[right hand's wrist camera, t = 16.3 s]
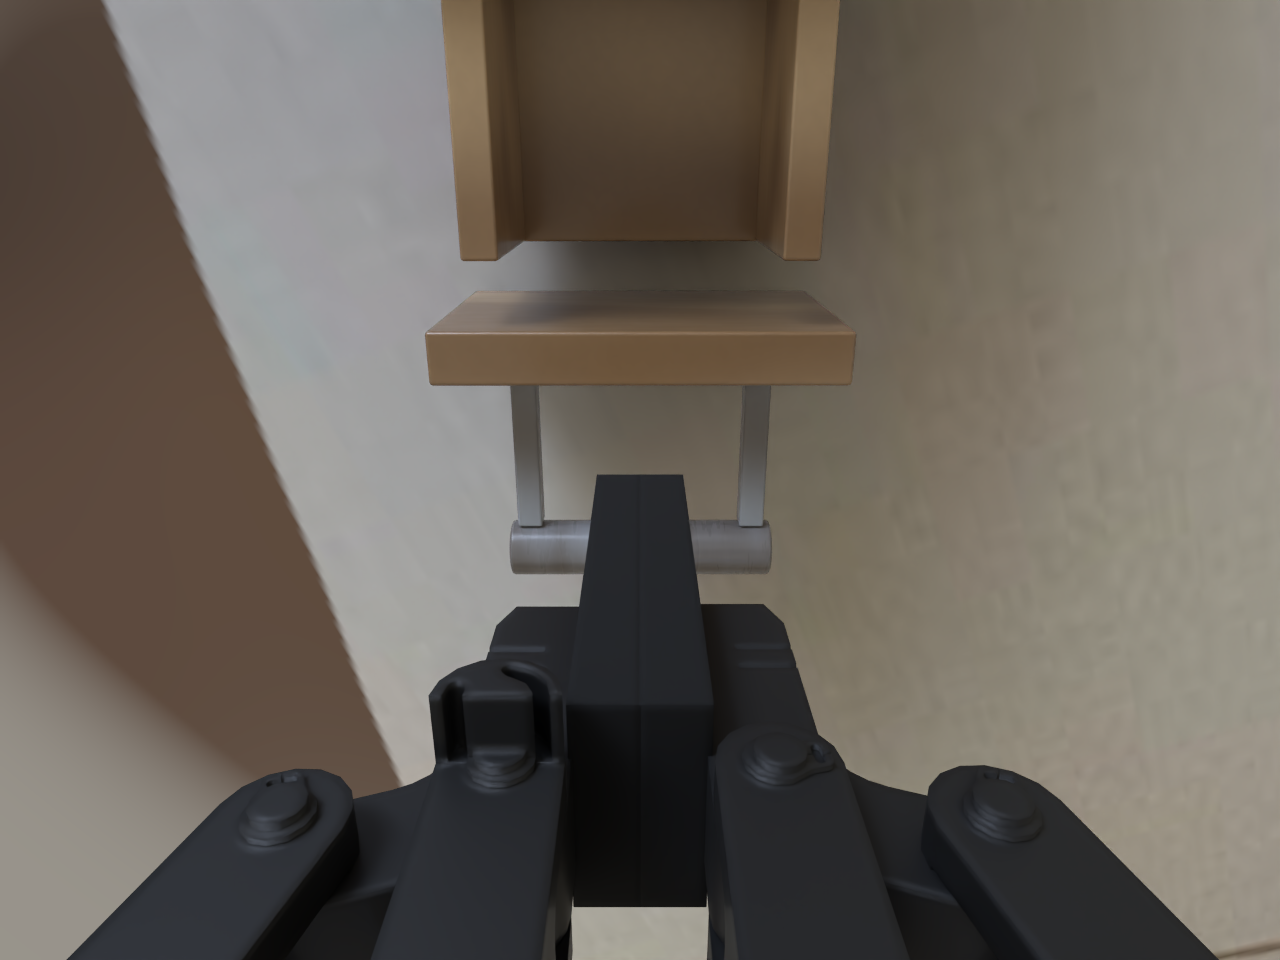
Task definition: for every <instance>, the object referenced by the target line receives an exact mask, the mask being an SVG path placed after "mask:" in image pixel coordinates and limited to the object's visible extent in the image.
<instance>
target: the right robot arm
mask: <svg viewBox="0 0 1280 960" xmlns="http://www.w3.org/2000/svg"><path fill="white" fill-rule="evenodd" d="M429 704H430V713H431V722H432V731H433V740H434V750H435V759H436V765H435V768H434V771H433V773H432V774H431V775H429V776H427V777H425V778H423V779H421V780H419V781H417V782H415V783H413V784H410V785H407V786H403V787H400V788H397V789H394V790H390V791H386V792H382V793H378V794H373V795H369V796H365V797H360V798H356V799H353V796H352V790H351V789H350V788H349V787H348V785H347V784H346V783H345V782H344V781H343V779H342V778H341V777H339V776H337V775H334V774H331V773H329V772H326V771H323V770H319V769H293V770H288V771H284V772H279V773H275V774H270V775H267V776H265V777H263V778H261V779H258V780H256V781H254V782H252V783H250V784H248V785H245V786H243V787H241V788H240V789H239V790H238V791H236V792H235V793H234V794H232V795H231V796H230V797H229V798H227V799H226V800H225V801H223V802H222V803H221V804H220V805H219V806H218V807H217V808H216V809H215V810H214V811H213V812H212V813H211V814H210V815H209V816H208V817H207V818H206V819H205V820H204V821H203V822H202V823H201V824H200V825H199V826H198V827H197V828H196V829H195V830H194V831H193V832H192V833H191V834H190V835H189V836H188V837H187V838H186V839H185V840H184V841H183V842H182V843H181V844H180V845H179V846H178V847H177V848H176V849H175V850H174V851H173V852H172V853H171V854H170V855H169V856H168V857H167V859H165V860H164V861H163V863H161V865H160V866H159V867H158V868H157V869H156V870H155V871H154V872H153V873H152V874H151V875H150V876H149V877H148V878H147V879H146V880H145V881H144V882H143V883H142V884H141V885H140V886H139V887H138V888H137V889H136V890H135V891H134V892H133V893H132V894H131V895H130V896H129V897H128V898H127V899H126V900H125V901H124V902H123V903H122V904H121V905H120V906H119V907H118V908H117V909H116V910H115V911H114V912H113V913H112V914H111V915H110V916H109V917H108V918H107V919H106V920H105V921H104V922H103V923H102V924H101V925H100V926H99V927H98V928H97V929H96V931H95V932H94V933H93V934H92V935H91V936H90V937H89V938H88V939H87V940H86V941H85V942H84V943H83V944H82V945H81V946H80V947H79V948H78V949H77V950H76V951H75V952H74V953H73V954H72V955H71V956H70V957H69V958H68V959H67V960H572V951H573V950H572V925H571V912H572V901H573V904H574V907H706V904H707V897H708V908H709V925H708V950H707V960H1219V959H1218V958H1217V957H1216V956H1215V955H1214V954H1213V953H1212V952H1211V951H1210V950H1209V949H1208V948H1207V947H1206V946H1205V945H1204V944H1203V943H1202V942H1201V941H1200V940H1199V939H1198V938H1197V937H1196V936H1195V935H1194V934H1193V933H1192V932H1191V931H1190V930H1189V929H1188V928H1187V927H1186V926H1185V925H1184V924H1183V923H1182V922H1181V921H1180V920H1179V919H1178V918H1177V917H1176V916H1175V915H1174V914H1173V913H1172V912H1171V911H1170V910H1169V909H1168V908H1167V907H1166V906H1165V905H1164V904H1163V903H1162V902H1161V901H1160V900H1159V899H1158V898H1157V897H1156V896H1155V895H1154V894H1153V893H1152V892H1151V891H1150V890H1149V889H1148V888H1147V887H1146V886H1145V885H1144V884H1143V883H1142V882H1141V881H1140V880H1139V879H1138V878H1137V877H1136V876H1135V875H1134V874H1133V873H1132V872H1131V871H1130V870H1129V869H1128V868H1127V867H1126V866H1125V865H1124V864H1123V863H1122V862H1121V861H1120V860H1119V859H1118V858H1117V857H1116V856H1115V855H1114V854H1113V853H1112V852H1111V851H1110V850H1109V849H1108V848H1107V846H1106V845H1105V844H1104V843H1103V842H1102V841H1101V840H1100V839H1099V838H1098V837H1097V836H1096V835H1095V834H1094V833H1093V832H1092V831H1091V830H1090V829H1089V828H1088V827H1087V826H1086V825H1085V824H1084V823H1083V822H1082V821H1081V820H1080V819H1079V818H1078V817H1077V816H1076V815H1075V814H1074V813H1073V812H1072V811H1071V810H1070V809H1069V808H1068V807H1067V806H1066V805H1065V804H1064V803H1063V802H1062V801H1061V800H1060V799H1058V798H1057V797H1056V796H1054V795H1053V794H1052V793H1050V792H1049V791H1048V790H1047V789H1045V788H1044V787H1043V786H1041V785H1040V784H1039V783H1037V782H1034V781H1032V780H1030V779H1028V778H1026V777H1023V776H1021V775H1019V774H1017V773H1015V772H1013V771H1008V770H1004V769H999V768H995V767H990V766H986V765H978V766H958V767H956V768H953V769H950V770H948V771H945V772H943V773H940V774H939V775H938V777H937V778H936V779H935V780H934V781H933V783H932V784H931V785H930V786H929V790H928V796H926V795H922V794H917V793H913V792H909V791H904V790H900V789H896V788H891V787H887V786H884V785H881V784H878V783H875V782H872V781H868V780H866V779H864V778H862V777H860V776H858V775H856V774H854V773H852V772H850V771H849V770H847V769H846V767H845V764H844V761H843V760H842V758H841V757H840V755H839V754H838V752H837V750H836V749H835V747H834V746H833V745H832V744H830V743H829V742H828V741H826V740H825V739H824V738H822V737H821V736H820V735H818V732H817V729H816V726H815V723H814V720H813V716H812V713H811V710H810V707H809V703H808V700H807V697H806V694H805V690H804V687H803V684H802V681H801V678H800V674H799V671H798V668H796V661H795V658H794V655H793V652H792V649H791V648H790V642H789V639H788V636H787V632H786V629H785V626H784V623H783V622H782V621H781V620H780V619H779V618H778V617H777V616H775V615H774V614H773V613H772V612H771V611H770V610H769V609H768V608H767V607H766V606H765V605H764V604H700V597H699V590H698V582H697V575H696V568H695V560H694V553H693V546H692V538H691V531H690V523H689V516H688V509H687V501H686V494H685V487H684V479H683V475H597V479H596V487H595V494H594V501H593V509H592V516H591V523H590V531H589V538H588V546H587V553H586V560H585V568H584V575H583V582H582V590H581V597H580V604H579V607H516V608H515V609H514V610H513V611H512V612H511V613H510V614H509V615H507V616H506V617H505V618H504V619H503V620H502V621H501V622H500V623H499V624H498V625H497V626H496V629H495V632H494V636H493V639H492V642H491V645H490V652H488V655H487V658H486V660H484V661H479V662H476V663H473V664H470V665H467V666H464V667H461V668H458V669H456V670H455V671H453V672H452V673H450V674H449V675H447V676H446V677H444V678H443V679H441V680H440V681H439V682H438V683H437V685H436V686H435V687H434V689H433V690H432V692H431V693H430V694H429Z"/></svg>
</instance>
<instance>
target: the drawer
mask: <svg viewBox="0 0 1280 960" xmlns="http://www.w3.org/2000/svg"><path fill="white" fill-rule="evenodd" d="M441 8H442V21H443V34H444V47H445V60H446V73H447V87H448V100H449V113H450V126H451V139H452V152H453V165H454V178H455V191H456V204H457V218H458V231H459V244H460V257H461V260H463V261H497V260H499V259H500V258H501V257H503V256H504V255H505V254H507V253H508V252H510V251H511V250H512V249H514V248H515V247H517V246H518V245H519V244H521V243H522V242H524V241H758V242H759V243H761V244H762V245H764V246H765V247H766V248H768V249H769V250H771V251H772V252H774V253H775V254H776V255H778V256H779V257H781V258H782V259H783V260H785V261H818V260H820V258H821V248H822V234H823V221H824V208H825V195H826V181H827V168H828V155H829V142H830V129H831V115H832V102H833V89H834V76H835V63H836V49H837V36H838V23H839V10H840V0H441ZM425 340H426V351H427V361H428V372H429V382H430V384H431V385H433V386H510V387H511V404H512V421H513V438H514V455H515V472H516V490H517V507H518V520H516V521H514V522H513V524H512V528H511V535H510V563H511V568H512V571H513V573H514V574H584V568H585V560H586V553H587V546H588V538H589V531H590V523H591V520H544V517H545V514H544V492H543V470H542V448H541V427H540V405H539V386H640V385H743V391H742V413H741V435H740V457H739V479H738V501H737V519H738V520H689V523H690V531H691V538H692V546H693V553H694V560H695V568H696V574H767V573H768V572H769V570H770V566H771V557H772V541H771V530H770V526H769V523H768V521H766V520H763V515H764V498H765V481H766V464H767V446H768V429H769V412H770V394H771V385H850V384H851V383H852V377H853V366H854V355H855V345H856V332H855V331H853V330H852V329H851V328H850V327H848V326H847V325H846V324H845V323H844V322H842V321H841V320H840V319H839V318H837V317H836V316H835V315H834V314H832V313H831V312H830V311H829V310H827V309H826V308H825V307H824V306H823V305H821V304H820V303H819V302H818V301H816V300H815V299H814V298H813V297H811V296H810V295H809V294H808V293H806V292H805V291H477V292H475V293H474V294H472V295H471V296H470V297H469V298H468V299H466V300H465V301H464V302H463V303H461V304H460V305H459V306H458V307H457V308H455V309H454V310H453V311H452V312H450V313H449V314H448V315H447V316H445V317H444V318H443V319H442V320H441V321H439V322H438V323H437V324H436V325H434V326H433V327H432V328H431V329H430V330H428V331H427V332H426V334H425Z"/></svg>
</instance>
